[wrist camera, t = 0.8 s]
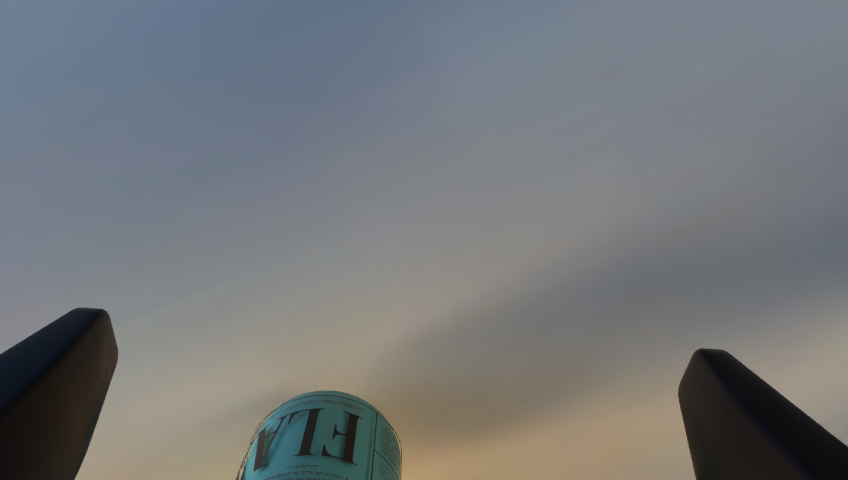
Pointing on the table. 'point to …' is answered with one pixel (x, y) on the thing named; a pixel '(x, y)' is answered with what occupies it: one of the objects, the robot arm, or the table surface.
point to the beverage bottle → (324, 441)
